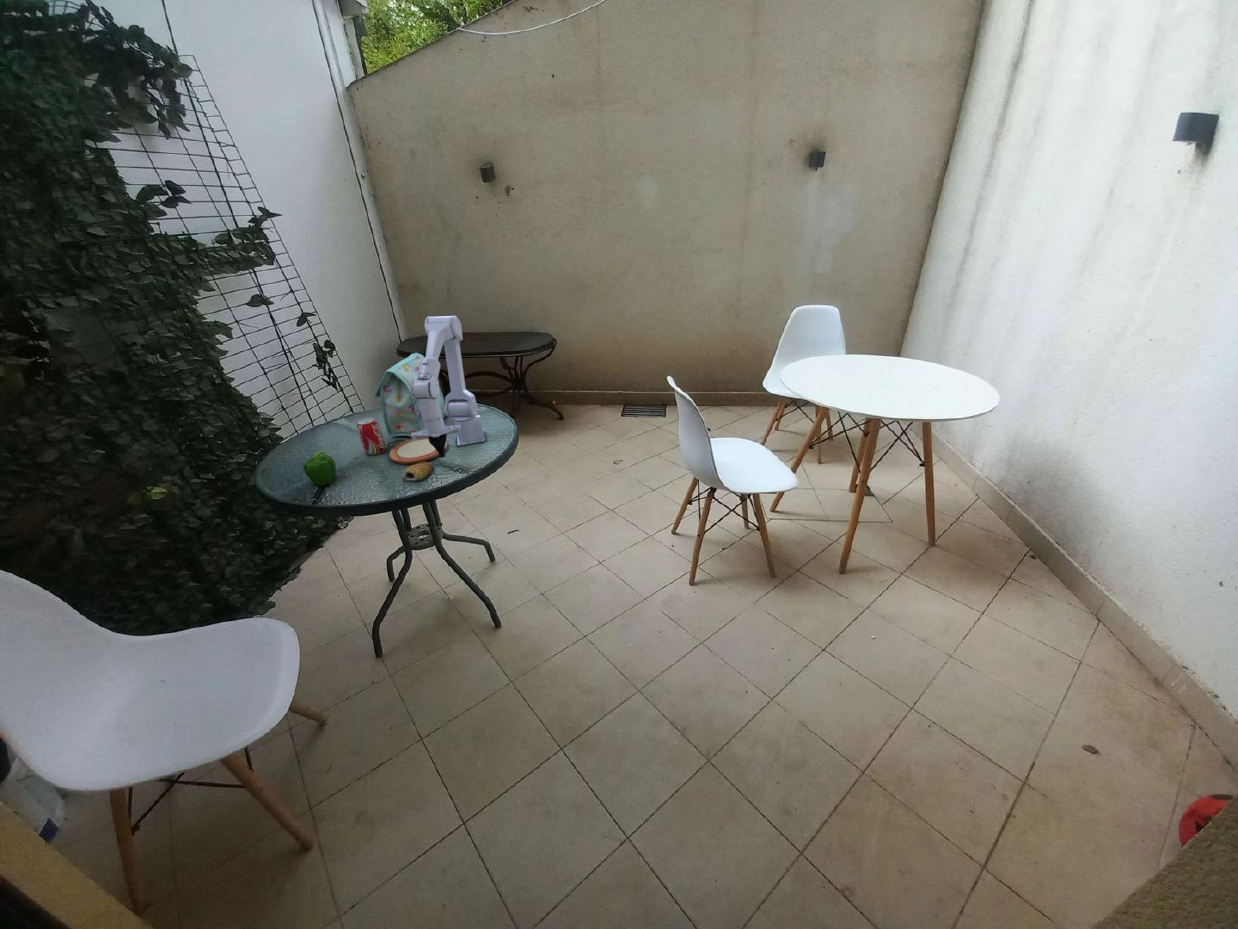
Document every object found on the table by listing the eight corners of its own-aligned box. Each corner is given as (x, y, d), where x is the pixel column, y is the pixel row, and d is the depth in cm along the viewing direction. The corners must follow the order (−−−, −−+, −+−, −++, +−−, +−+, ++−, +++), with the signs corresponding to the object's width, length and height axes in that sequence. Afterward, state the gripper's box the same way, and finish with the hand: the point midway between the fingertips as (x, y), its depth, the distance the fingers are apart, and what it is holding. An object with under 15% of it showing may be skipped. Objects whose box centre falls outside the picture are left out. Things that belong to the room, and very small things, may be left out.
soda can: (379, 456, 166) (368, 424, 160) (361, 455, 167) (350, 424, 161) (390, 447, 172) (381, 416, 166) (373, 446, 173) (362, 416, 167)
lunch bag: (415, 414, 198) (397, 350, 185) (452, 415, 196) (437, 350, 183) (384, 439, 178) (361, 369, 165) (425, 439, 176) (405, 369, 163)
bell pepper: (309, 490, 147) (296, 462, 142) (312, 478, 154) (300, 451, 149) (339, 484, 150) (328, 456, 145) (341, 472, 157) (330, 445, 152)
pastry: (421, 466, 158) (418, 456, 156) (438, 468, 156) (435, 458, 154) (402, 480, 150) (398, 470, 148) (420, 483, 148) (417, 472, 146)
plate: (447, 436, 177) (446, 432, 177) (447, 458, 161) (446, 454, 161) (393, 445, 173) (392, 441, 172) (387, 469, 157) (386, 465, 156)
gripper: (406, 426, 142) (418, 465, 148) (456, 417, 145) (466, 457, 152) (408, 417, 147) (419, 456, 154) (456, 409, 151) (465, 447, 158)
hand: (442, 455), depth 153 cm, fingers closed
